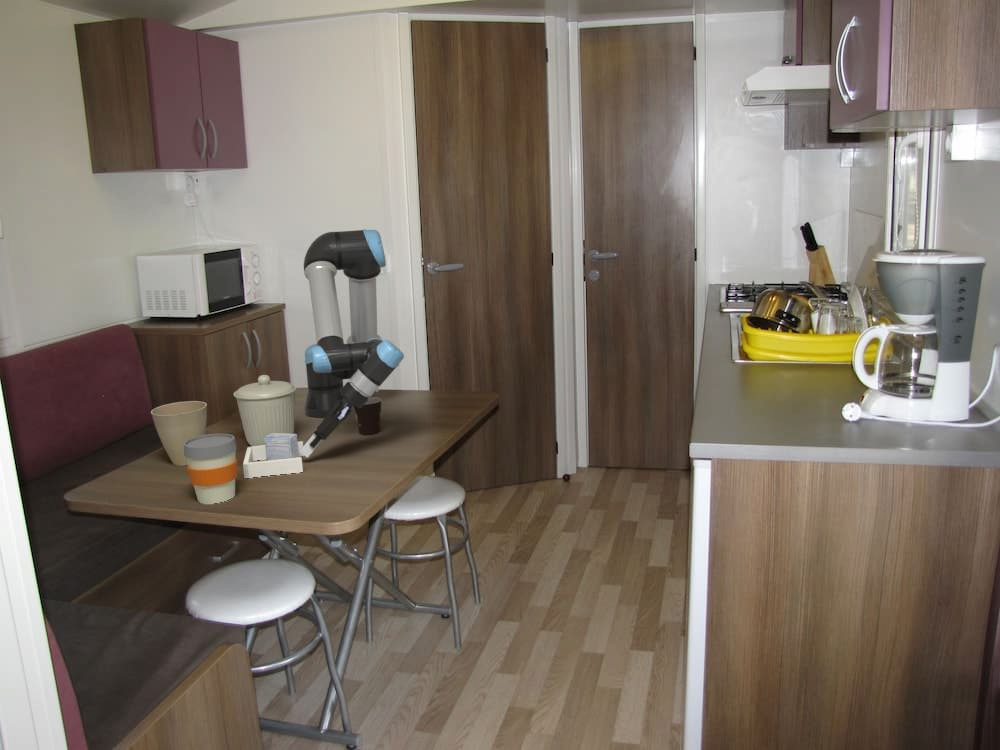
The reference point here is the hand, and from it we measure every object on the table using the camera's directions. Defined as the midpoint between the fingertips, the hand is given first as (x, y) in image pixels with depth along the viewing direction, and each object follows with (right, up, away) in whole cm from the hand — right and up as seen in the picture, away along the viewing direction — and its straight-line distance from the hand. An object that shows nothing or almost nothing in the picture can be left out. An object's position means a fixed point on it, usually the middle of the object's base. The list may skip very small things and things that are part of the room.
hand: (303, 453), depth 250 cm
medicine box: (-5, -3, 0) cm, 6 cm away
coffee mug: (+15, +4, +29) cm, 33 cm away
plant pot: (-35, -3, +8) cm, 36 cm away
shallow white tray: (-7, -3, 0) cm, 8 cm away
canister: (-14, +1, +21) cm, 26 cm away
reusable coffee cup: (-17, -9, -23) cm, 30 cm away
